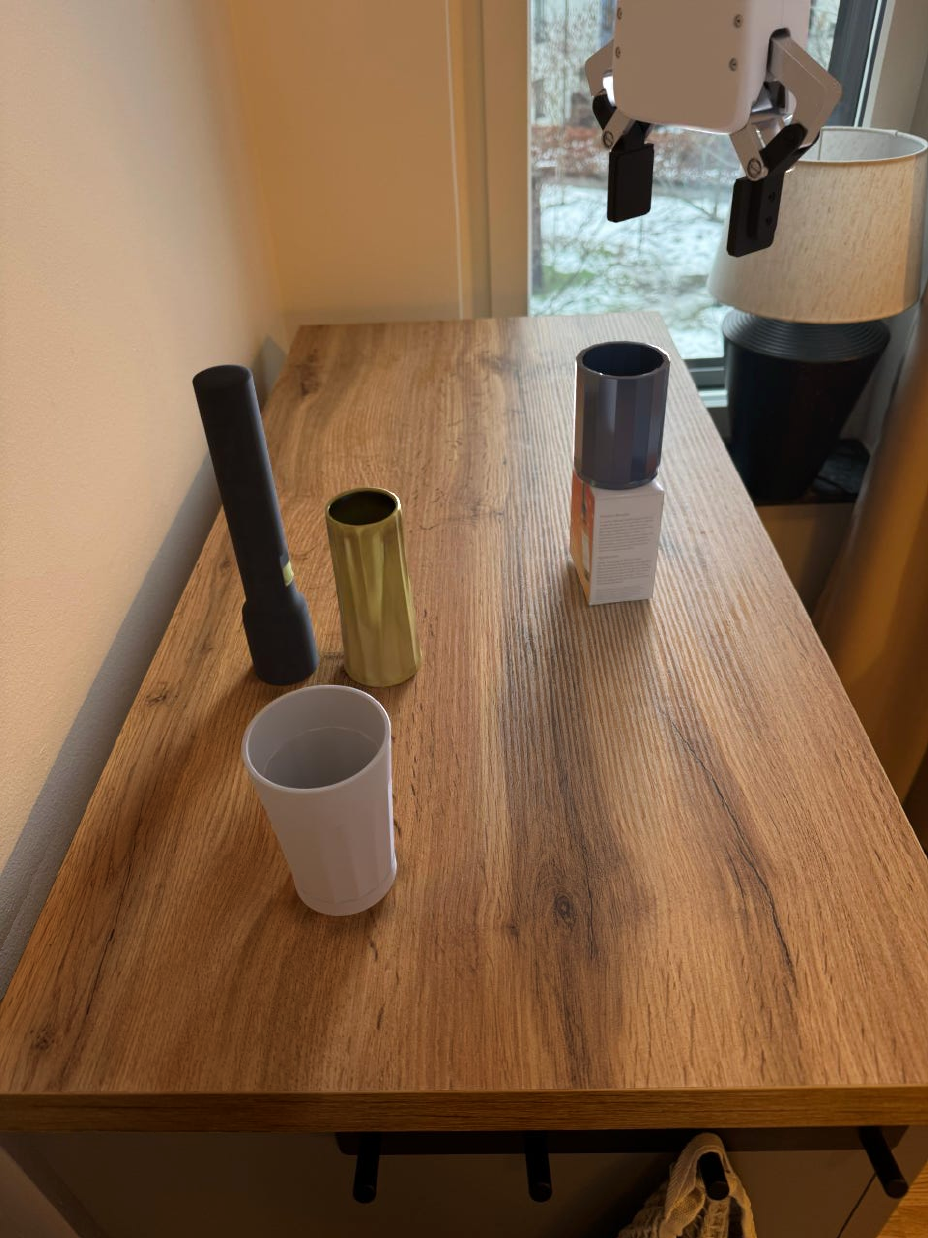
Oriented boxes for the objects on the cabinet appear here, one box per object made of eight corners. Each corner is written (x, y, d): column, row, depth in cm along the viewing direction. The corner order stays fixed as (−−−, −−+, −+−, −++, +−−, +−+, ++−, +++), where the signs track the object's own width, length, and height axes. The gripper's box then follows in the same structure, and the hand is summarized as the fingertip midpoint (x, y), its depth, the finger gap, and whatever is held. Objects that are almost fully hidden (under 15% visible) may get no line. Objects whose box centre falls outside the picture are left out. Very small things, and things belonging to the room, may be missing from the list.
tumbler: (668, 455, 73) (679, 346, 68) (645, 496, 69) (655, 384, 63) (588, 441, 76) (592, 336, 70) (561, 481, 71) (563, 371, 65)
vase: (404, 696, 68) (384, 537, 59) (330, 679, 70) (301, 522, 61) (434, 645, 73) (420, 489, 64) (364, 630, 75) (341, 477, 66)
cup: (256, 907, 55) (212, 772, 47) (317, 806, 61) (286, 672, 53) (377, 944, 53) (351, 809, 45) (429, 837, 58) (413, 701, 51)
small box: (568, 552, 82) (571, 447, 75) (630, 546, 82) (638, 440, 75) (587, 607, 76) (592, 498, 69) (654, 600, 76) (665, 490, 69)
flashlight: (243, 680, 71) (302, 691, 69) (164, 388, 56) (238, 395, 54) (272, 639, 74) (329, 649, 73) (205, 355, 59) (275, 361, 58)
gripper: (930, -158, 40) (850, 250, 50) (647, -133, 51) (630, 195, 62) (816, -151, 36) (757, 283, 47) (542, -126, 48) (544, 219, 59)
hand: (685, 233), depth 54 cm, fingers open, 9 cm apart
